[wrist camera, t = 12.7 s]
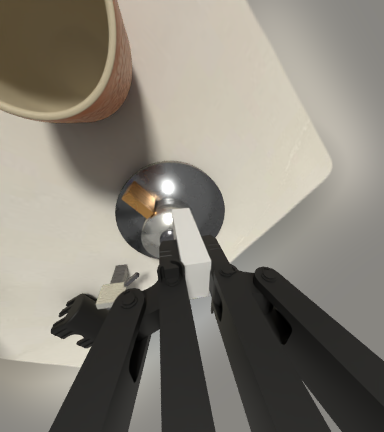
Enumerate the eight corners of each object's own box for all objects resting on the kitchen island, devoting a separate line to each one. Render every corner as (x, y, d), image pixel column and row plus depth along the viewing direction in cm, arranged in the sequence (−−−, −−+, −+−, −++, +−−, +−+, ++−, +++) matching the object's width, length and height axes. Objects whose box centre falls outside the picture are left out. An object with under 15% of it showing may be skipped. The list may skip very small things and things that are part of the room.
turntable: (172, 266, 35) (174, 295, 29) (94, 215, 27) (75, 240, 21) (239, 211, 31) (257, 231, 25) (172, 133, 23) (176, 135, 17)
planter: (158, 96, 21) (155, 69, 12) (79, 142, 22) (18, 152, 13) (87, -51, 15) (-33, -340, 6) (-16, 22, 16) (-262, -126, 7)
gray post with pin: (114, 273, 34) (100, 315, 26) (108, 255, 32) (91, 296, 24) (145, 269, 35) (141, 309, 27) (142, 251, 32) (136, 289, 25)
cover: (181, 244, 30) (184, 266, 26) (138, 231, 28) (132, 253, 23) (201, 208, 27) (209, 226, 22) (155, 190, 25) (153, 206, 20)
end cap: (122, 307, 39) (116, 339, 33) (99, 320, 40) (89, 353, 34) (89, 286, 35) (74, 318, 29) (64, 301, 35) (44, 335, 30)
